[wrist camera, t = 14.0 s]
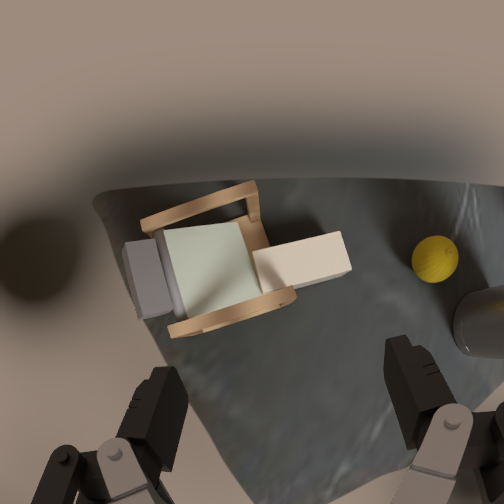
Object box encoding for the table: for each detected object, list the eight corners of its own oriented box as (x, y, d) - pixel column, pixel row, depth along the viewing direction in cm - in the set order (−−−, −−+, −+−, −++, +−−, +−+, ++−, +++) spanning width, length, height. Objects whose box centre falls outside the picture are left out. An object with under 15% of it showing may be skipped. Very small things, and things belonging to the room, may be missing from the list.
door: (230, 227, 38) (239, 218, 36) (255, 301, 36) (266, 296, 34) (119, 241, 30) (122, 231, 29) (141, 331, 28) (146, 327, 26)
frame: (257, 213, 41) (253, 179, 31) (290, 304, 38) (297, 297, 28) (168, 243, 40) (139, 220, 31) (195, 335, 38) (171, 338, 28)
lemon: (404, 240, 39) (431, 222, 31) (439, 249, 38) (470, 234, 30) (400, 282, 38) (427, 272, 30) (435, 289, 37) (467, 281, 29)
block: (251, 260, 38) (329, 241, 39) (260, 297, 37) (340, 276, 38) (252, 251, 34) (339, 230, 35) (263, 292, 33) (351, 269, 34)
